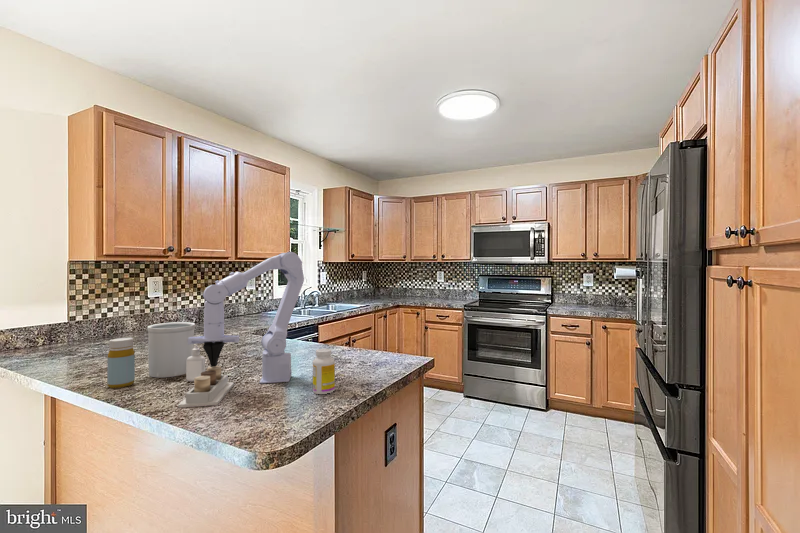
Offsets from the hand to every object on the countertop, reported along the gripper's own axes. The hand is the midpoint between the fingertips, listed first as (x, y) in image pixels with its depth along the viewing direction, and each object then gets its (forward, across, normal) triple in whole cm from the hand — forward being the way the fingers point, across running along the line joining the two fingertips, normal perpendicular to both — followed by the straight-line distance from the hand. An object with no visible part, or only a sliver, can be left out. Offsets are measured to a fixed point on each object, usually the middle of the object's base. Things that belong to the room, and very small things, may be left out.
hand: (214, 365), depth 114 cm
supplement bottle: (+8, -34, +10) cm, 36 cm away
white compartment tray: (+7, 0, +6) cm, 9 cm away
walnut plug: (+4, 0, +6) cm, 7 cm away
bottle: (+8, +31, -10) cm, 34 cm away
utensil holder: (+8, +21, -24) cm, 32 cm away
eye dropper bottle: (+8, +9, -12) cm, 16 cm away
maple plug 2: (+4, 0, 0) cm, 4 cm away
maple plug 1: (+4, 0, +11) cm, 12 cm away
